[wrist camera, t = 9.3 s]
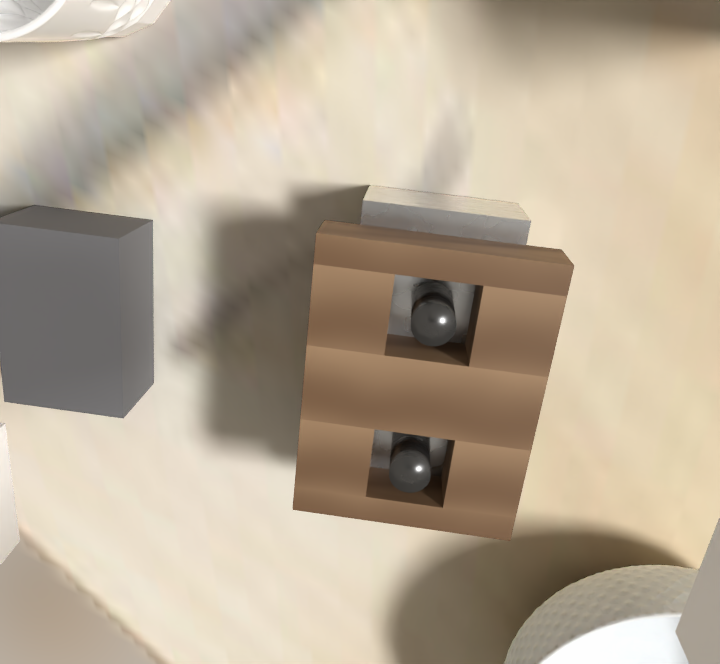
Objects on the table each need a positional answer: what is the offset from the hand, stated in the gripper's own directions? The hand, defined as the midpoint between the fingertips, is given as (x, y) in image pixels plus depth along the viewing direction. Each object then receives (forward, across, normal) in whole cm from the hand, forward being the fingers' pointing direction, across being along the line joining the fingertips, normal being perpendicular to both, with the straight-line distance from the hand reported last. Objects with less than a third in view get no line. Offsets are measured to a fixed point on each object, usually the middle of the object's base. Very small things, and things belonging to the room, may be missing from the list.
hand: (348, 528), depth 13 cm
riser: (+22, -15, -5) cm, 27 cm away
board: (+18, +2, -5) cm, 18 cm away
